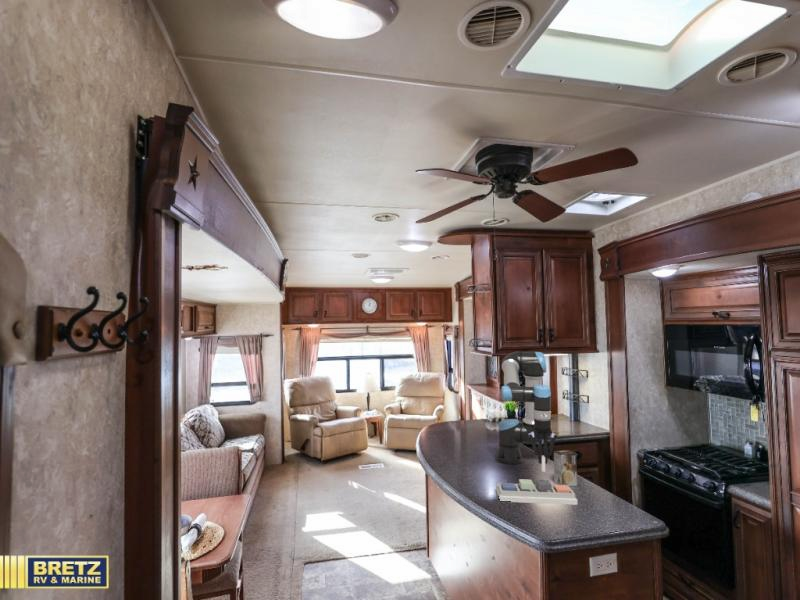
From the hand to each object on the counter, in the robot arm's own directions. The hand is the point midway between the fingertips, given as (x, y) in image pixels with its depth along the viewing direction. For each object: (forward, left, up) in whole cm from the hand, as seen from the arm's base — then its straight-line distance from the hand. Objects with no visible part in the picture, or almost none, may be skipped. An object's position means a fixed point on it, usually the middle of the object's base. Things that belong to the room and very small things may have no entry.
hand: (543, 470), depth 199 cm
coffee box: (-18, +15, -13) cm, 27 cm away
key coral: (0, +8, -10) cm, 13 cm away
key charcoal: (0, 0, -8) cm, 8 cm away
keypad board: (0, -4, -12) cm, 13 cm away
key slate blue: (0, -16, -10) cm, 19 cm away
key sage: (0, -8, -8) cm, 11 cm away
